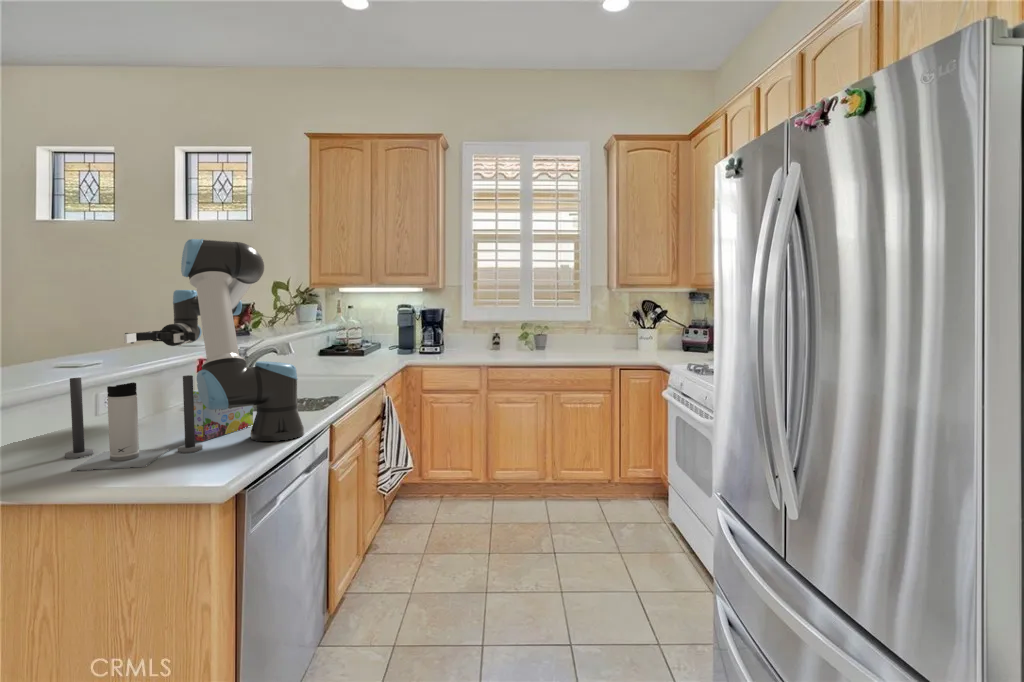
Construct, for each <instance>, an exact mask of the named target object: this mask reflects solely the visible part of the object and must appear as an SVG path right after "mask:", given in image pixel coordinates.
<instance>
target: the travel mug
mask: <svg viewBox="0 0 1024 682" xmlns="http://www.w3.org/2000/svg"><path fill="white" fill-rule="evenodd" d="M106 387H107V389H106V390H107V417H108V418H107V421H108V440H109V441H108V442H109V446H108V447H109V451H110V460H112V461H126V460H131V459H135V458H137V457H139V450H140V444H139V443H140V441H139V439H140V438H139V437H140V436H139V415H138V413H139V411H138V397H137V396H138V394H137V382H128V383H123V384H116V385H114V386H110V385H109V386H106Z"/></svg>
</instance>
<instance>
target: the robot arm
mask: <svg viewBox="0 0 1024 682" xmlns="http://www.w3.org/2000/svg"><path fill="white" fill-rule="evenodd" d="M262 257H263V256H261V254H260V253H259V252H258V250H257V249H255V248H254V247H253V246H251V245H249V244H247V243H244V242H241V241H229V240H228V241H227V240H212V239H204V238H201V239H200V238H199V239H198V238H190V239H188V240H186V241H185V243H184V245H183V249H182V256H181V263H180V264H181V265H180V266H181V267H180V269H181V270H180V271H181V274H182V277H185V278H188V279H189V283H190V285H191V286H192V287H194V288H196V290H194V289H175V290H174V291H173V295H172V306H173V323H170V324H166V325H164V326H163V327H162V329H160V330H153V331H144V332H143V331H142V332H141V331H140V332H125V333H124V334H123V343H124V344H132V345H133V344H135V343H137V342H140V341H141V342H143V341H153V342H163V344H165V345H167V346H169V347H175V346H178V347H182V345H185V344H191V343H194V342H196V341H198V340H199V339H200V338H201V336H202V335H203V336H202V337H203V341H204V351H205V357H206V360H205V362H204V363H202V365H201V370H199V371H198V372H197V374H196V382H197V384H196V386H197V390H198V392H199V396H200V398H201V401H202V403H203V404H204V405H205V407H207V408H208V409H211V410H216V409H223V410H225V409H228V408H236V407H245V406H253V407H254V406H256V414H255V418H254V419H253V426H252V427H251V429H250V440H252V439H253V440H252V441H254V440H257V441H256V442H260V441H276V442H280V441H279V440H285V441H289V440H288V439H291V440H294V439H293V438H295V439H298V438H301V437H303V436H304V435H305V428H304V425H303V422H302V419H301V415H300V414H299V410H298V379H299V378H298V374H297V368H296V367H297V366H295V365H294V364H293V363H287V362H281V361H280V362H278V361H268V360H267V361H264V360H263V361H262V360H261V361H260V360H259V361H256V362H255V364H254V366H248V365H247V360H246V359H245V358H243V357H242V356H241V355H240V353H239V345H238V339H237V333H236V325H235V320H234V316H238V315H240V314H241V312H242V309H243V302H242V299H243V298H244V296H245V295H246V293H247V292H248V291H249V289H250V288H251V286H252V285H253V284H256V283H257V282H258V281H259V280H261V278H262V277H263V275H264V271H265V262H264V259H263V258H262ZM199 317H200V321H201V326H200V325H199V322H198V321H199ZM297 437H298V438H297Z"/></svg>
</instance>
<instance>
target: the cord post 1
mask: <svg viewBox="0 0 1024 682" xmlns="http://www.w3.org/2000/svg"><path fill="white" fill-rule="evenodd" d="M82 390H83V384H82V377H71V378H69V391H70V412H71V432H72V433H71V434H72V450H70V451H66V452H64V458H65V457H66V458H65V459H67V458H76V459H78V458H77V457H83V458H85V457H84V456H88V457H90V456H89V455H91V454H93V455H94V449H93V448H86V447H85V429H84V410H83V409H84V408H83V407H84V406H83V391H82ZM91 456H92V455H91Z"/></svg>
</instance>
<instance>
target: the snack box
mask: <svg viewBox="0 0 1024 682" xmlns="http://www.w3.org/2000/svg"><path fill="white" fill-rule="evenodd" d="M193 397H194V427H195V442H196V441H199V442H206V441H209V440H211V439H215V438H219V437H222V436H225V434H226V435H229V434H232V433H235V432H234V431H236V432H238V431H237V430H239V431H241V430H240V429H242V430H244V429H243V428H245V427H248V426H251V425H253V423H254V406H245V407H236V408H228V409H225V410H223V409H216V410H211V409H208V408H207V407H205V405H204V404H203V403H202V401H201V398H200V396H199V392H198V389H194V390H193ZM231 432H232V433H231ZM228 433H229V434H228Z"/></svg>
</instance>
